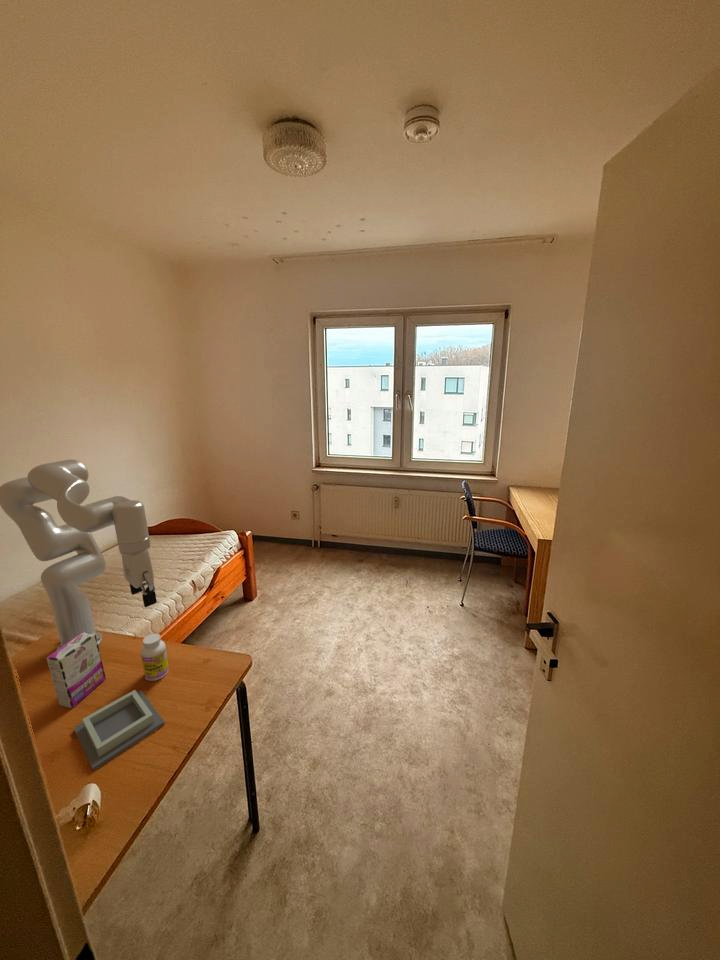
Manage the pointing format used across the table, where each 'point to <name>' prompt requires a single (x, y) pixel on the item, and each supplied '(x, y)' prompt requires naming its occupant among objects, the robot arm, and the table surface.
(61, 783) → the table surface
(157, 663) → the supplement bottle
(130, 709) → the tray
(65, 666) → the candy bar box
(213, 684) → the table surface
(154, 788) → the table surface
